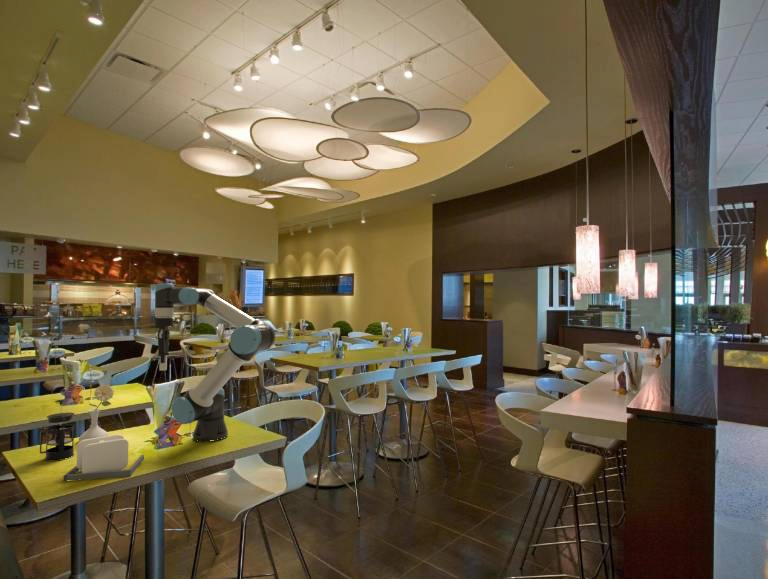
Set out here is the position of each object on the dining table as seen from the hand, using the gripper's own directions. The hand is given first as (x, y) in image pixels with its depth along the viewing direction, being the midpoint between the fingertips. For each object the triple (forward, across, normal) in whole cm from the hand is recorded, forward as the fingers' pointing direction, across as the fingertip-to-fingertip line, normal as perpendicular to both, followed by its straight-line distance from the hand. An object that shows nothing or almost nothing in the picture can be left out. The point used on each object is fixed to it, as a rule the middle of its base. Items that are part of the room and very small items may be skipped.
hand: (163, 370), depth 197 cm
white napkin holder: (+33, +31, -13) cm, 47 cm away
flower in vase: (+33, -12, -30) cm, 46 cm away
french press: (+33, +10, -36) cm, 50 cm away
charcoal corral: (+32, +30, -12) cm, 46 cm away
